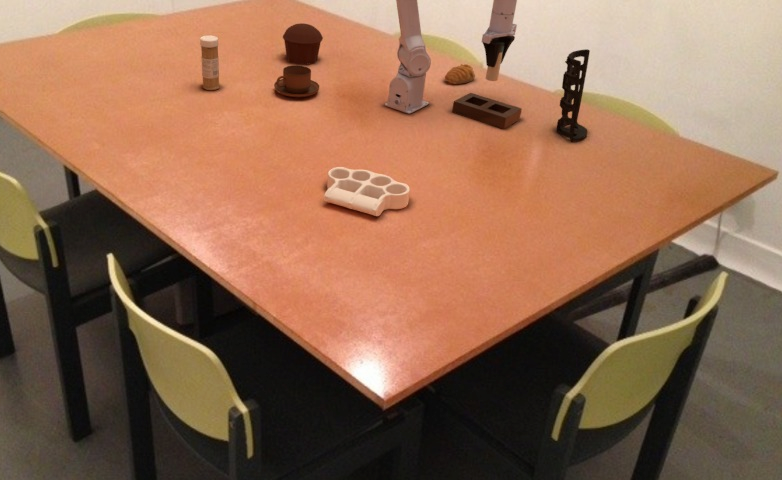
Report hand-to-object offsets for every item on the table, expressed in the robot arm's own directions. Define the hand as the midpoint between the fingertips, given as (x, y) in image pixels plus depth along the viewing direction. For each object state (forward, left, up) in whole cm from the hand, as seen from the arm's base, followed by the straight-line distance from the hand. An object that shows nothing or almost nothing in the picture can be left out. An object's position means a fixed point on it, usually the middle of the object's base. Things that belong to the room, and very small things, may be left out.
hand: (494, 64), depth 202 cm
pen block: (-9, -4, -10) cm, 14 cm away
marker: (0, 0, -4) cm, 4 cm away
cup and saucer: (-32, +40, -10) cm, 53 cm away
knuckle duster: (-66, -8, -10) cm, 68 cm away
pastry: (+9, +14, -10) cm, 20 cm away
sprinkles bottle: (-46, +58, -10) cm, 75 cm away
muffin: (-11, +56, -10) cm, 58 cm away
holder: (-3, -25, -10) cm, 27 cm away
